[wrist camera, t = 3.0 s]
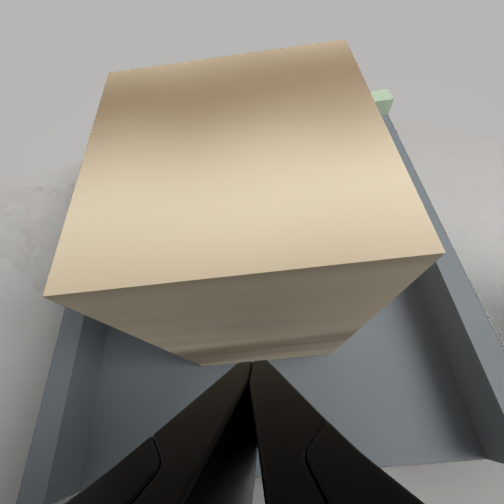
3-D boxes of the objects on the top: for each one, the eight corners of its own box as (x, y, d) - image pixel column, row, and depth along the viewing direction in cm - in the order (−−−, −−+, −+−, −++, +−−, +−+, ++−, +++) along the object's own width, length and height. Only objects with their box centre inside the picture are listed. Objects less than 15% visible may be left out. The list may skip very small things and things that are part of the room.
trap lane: (480, 448, 12) (592, 475, 8) (86, 480, 13) (-13, 521, 9) (365, 153, 21) (388, 88, 17) (135, 182, 22) (98, 127, 17)
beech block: (331, 354, 13) (445, 252, 4) (202, 366, 13) (42, 296, 4) (308, 242, 16) (345, 39, 7) (203, 254, 16) (109, 73, 7)
